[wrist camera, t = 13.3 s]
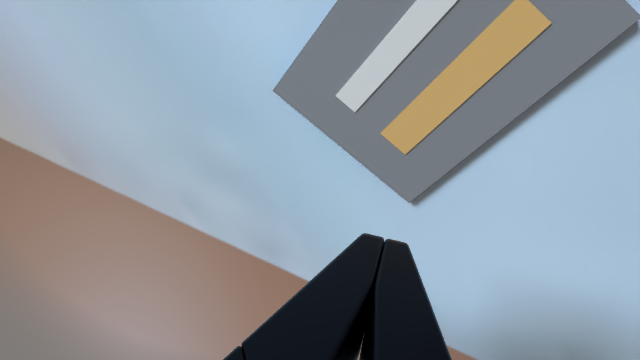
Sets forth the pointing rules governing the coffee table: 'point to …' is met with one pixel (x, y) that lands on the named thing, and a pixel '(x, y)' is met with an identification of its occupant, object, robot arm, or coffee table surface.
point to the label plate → (438, 75)
